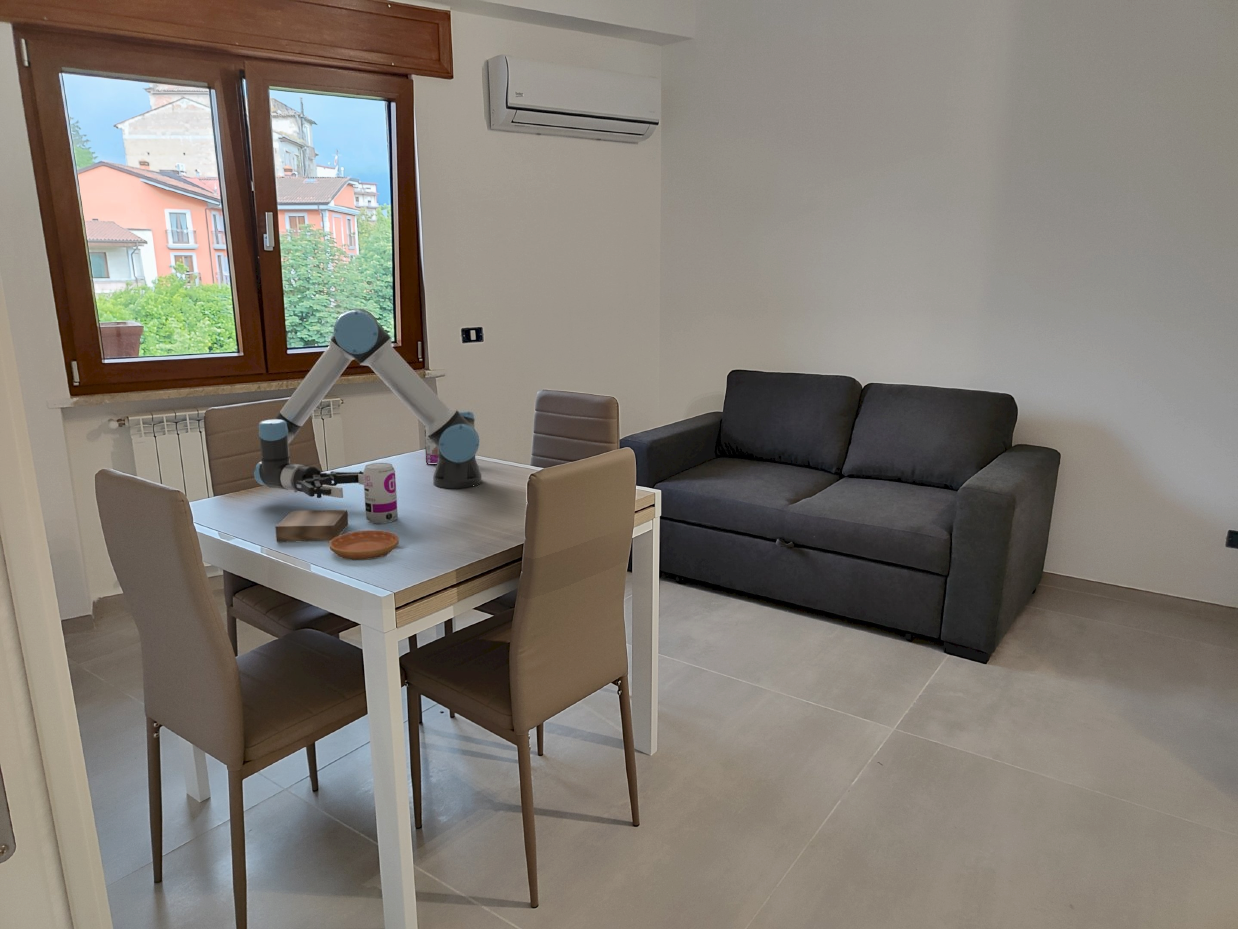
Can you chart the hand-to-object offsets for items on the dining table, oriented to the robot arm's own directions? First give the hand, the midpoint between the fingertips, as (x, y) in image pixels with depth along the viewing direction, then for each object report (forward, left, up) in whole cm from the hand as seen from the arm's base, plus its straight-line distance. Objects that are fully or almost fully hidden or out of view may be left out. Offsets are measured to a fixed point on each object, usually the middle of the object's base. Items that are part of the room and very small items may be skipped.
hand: (360, 487), depth 222 cm
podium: (+9, +14, -8) cm, 19 cm away
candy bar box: (-14, -65, -9) cm, 67 cm away
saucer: (-7, +29, -9) cm, 31 cm away
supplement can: (-6, +3, -9) cm, 11 cm away
